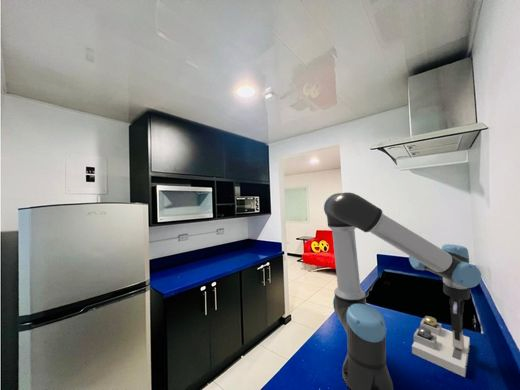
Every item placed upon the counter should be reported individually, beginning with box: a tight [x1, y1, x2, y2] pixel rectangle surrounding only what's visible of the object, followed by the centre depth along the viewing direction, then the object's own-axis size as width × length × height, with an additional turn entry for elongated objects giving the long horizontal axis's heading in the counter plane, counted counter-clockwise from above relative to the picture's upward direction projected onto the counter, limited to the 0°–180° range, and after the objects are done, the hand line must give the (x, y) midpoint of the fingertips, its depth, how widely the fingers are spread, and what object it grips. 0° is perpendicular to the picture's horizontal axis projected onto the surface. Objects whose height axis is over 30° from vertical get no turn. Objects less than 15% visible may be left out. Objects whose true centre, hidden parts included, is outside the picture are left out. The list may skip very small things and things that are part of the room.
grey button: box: [418, 326, 431, 340], centre depth 85 cm, size 4×4×3 cm
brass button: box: [424, 315, 438, 328], centre depth 93 cm, size 4×4×3 cm
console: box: [411, 317, 471, 378], centre depth 85 cm, size 24×15×6 cm, turn 132°
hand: (457, 346), depth 80 cm, fingers closed
